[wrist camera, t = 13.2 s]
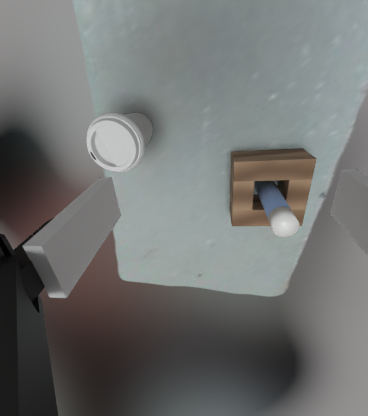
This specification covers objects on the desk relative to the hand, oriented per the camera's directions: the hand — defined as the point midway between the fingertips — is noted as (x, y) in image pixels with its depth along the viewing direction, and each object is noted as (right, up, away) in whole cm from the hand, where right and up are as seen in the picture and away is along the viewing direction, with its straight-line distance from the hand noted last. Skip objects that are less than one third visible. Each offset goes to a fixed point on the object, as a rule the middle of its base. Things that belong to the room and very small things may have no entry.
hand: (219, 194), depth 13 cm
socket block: (+16, +5, +38) cm, 41 cm away
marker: (+16, +5, +38) cm, 41 cm away
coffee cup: (-12, +16, +35) cm, 40 cm away
